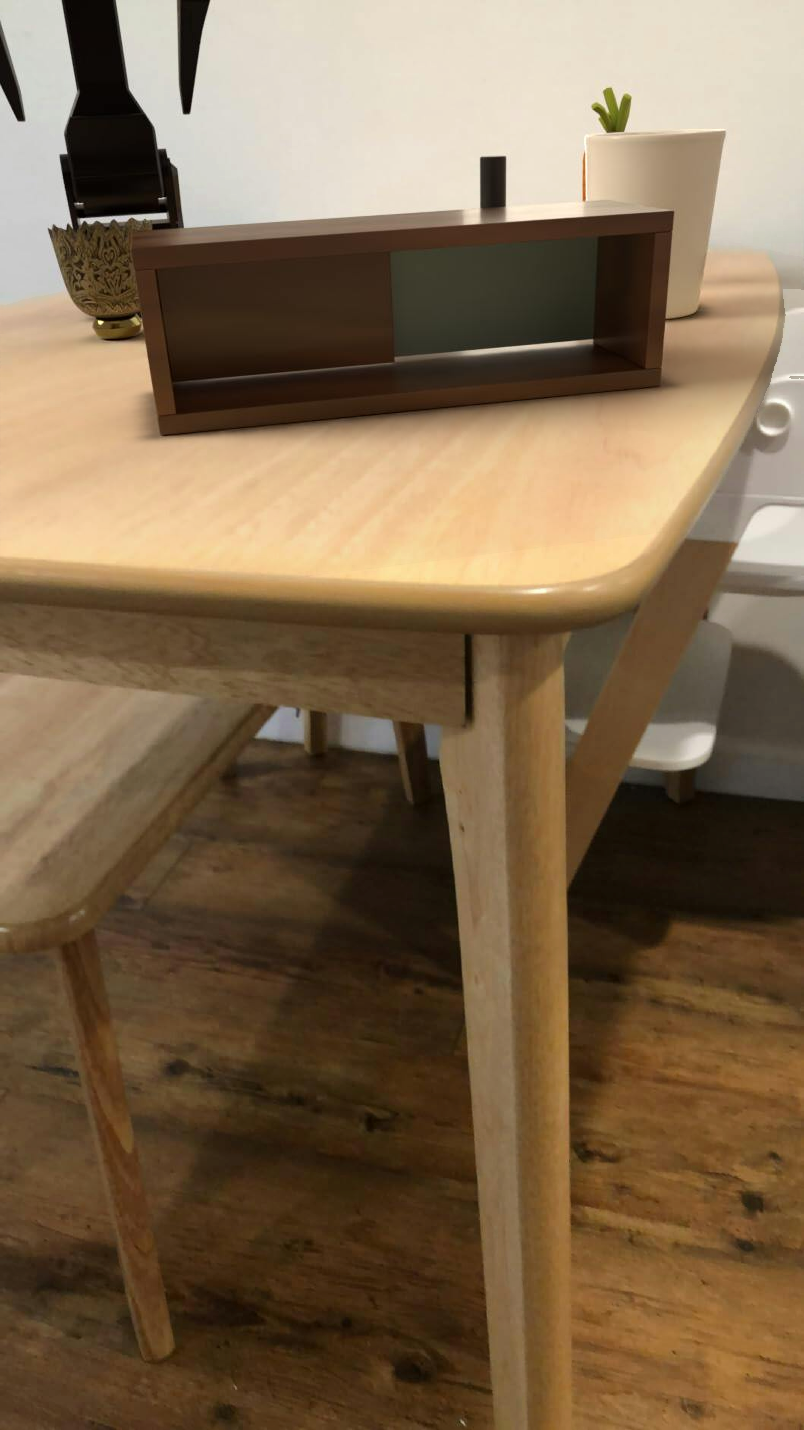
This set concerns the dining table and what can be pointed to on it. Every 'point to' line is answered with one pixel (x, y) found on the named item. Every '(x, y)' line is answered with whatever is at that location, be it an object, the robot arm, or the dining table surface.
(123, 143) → the robot arm
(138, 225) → the cup
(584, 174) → the carrot
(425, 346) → the dark piece
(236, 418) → the display case
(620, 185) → the white plant pot
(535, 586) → the dining table surface
